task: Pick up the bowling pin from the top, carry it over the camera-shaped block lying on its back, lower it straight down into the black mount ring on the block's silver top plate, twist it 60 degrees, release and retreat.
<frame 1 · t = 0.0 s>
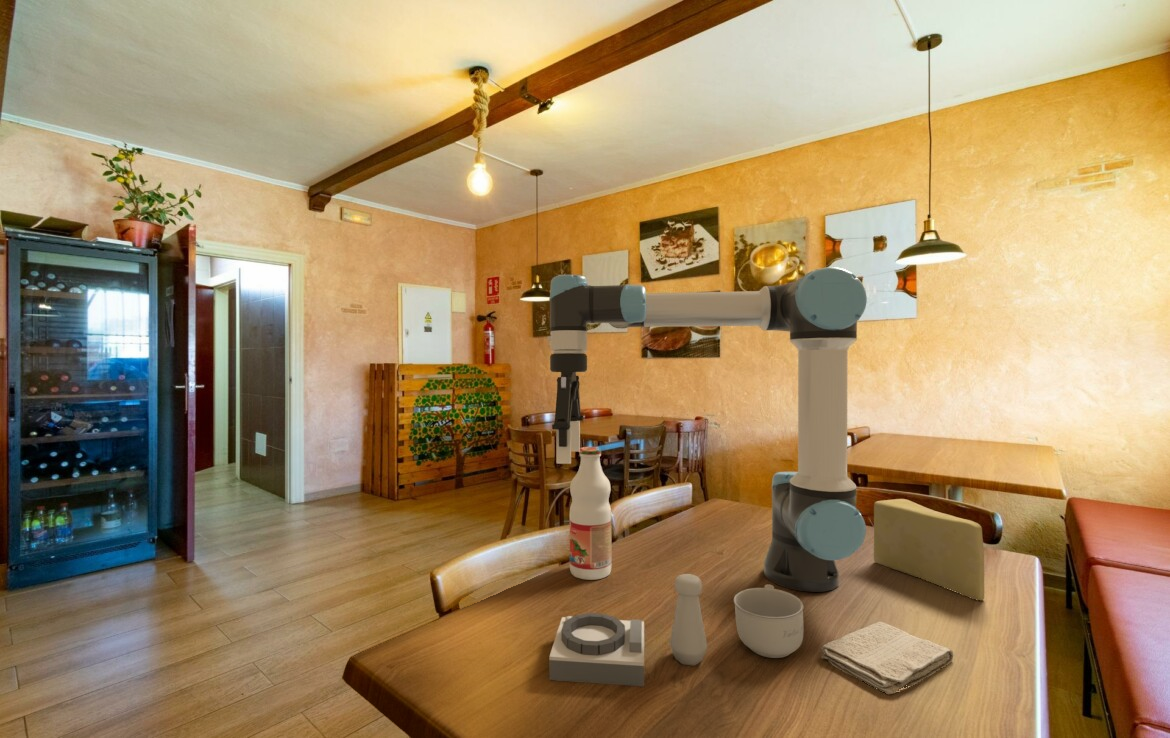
hand: (568, 457, 105), 28 cm above the table, tool pointing down, fingers open, 13 cm apart
washcloth: (885, 664, 82), on the table
cheese: (930, 580, 112), on the table
bowling pin: (688, 659, 82), on the table
teacup: (769, 644, 87), on the table
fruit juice: (590, 573, 116), on the table
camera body: (599, 659, 82), on the table
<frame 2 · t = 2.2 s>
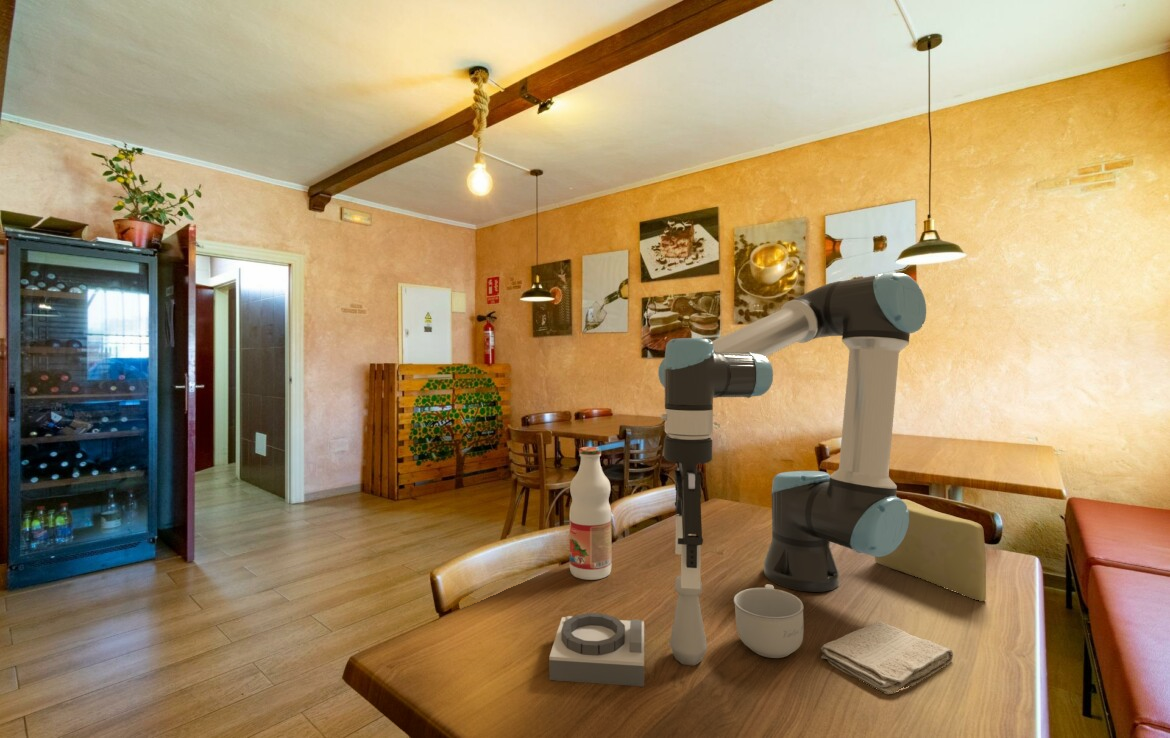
hand: (686, 569, 82), 14 cm above the table, tool pointing down, fingers open, 13 cm apart
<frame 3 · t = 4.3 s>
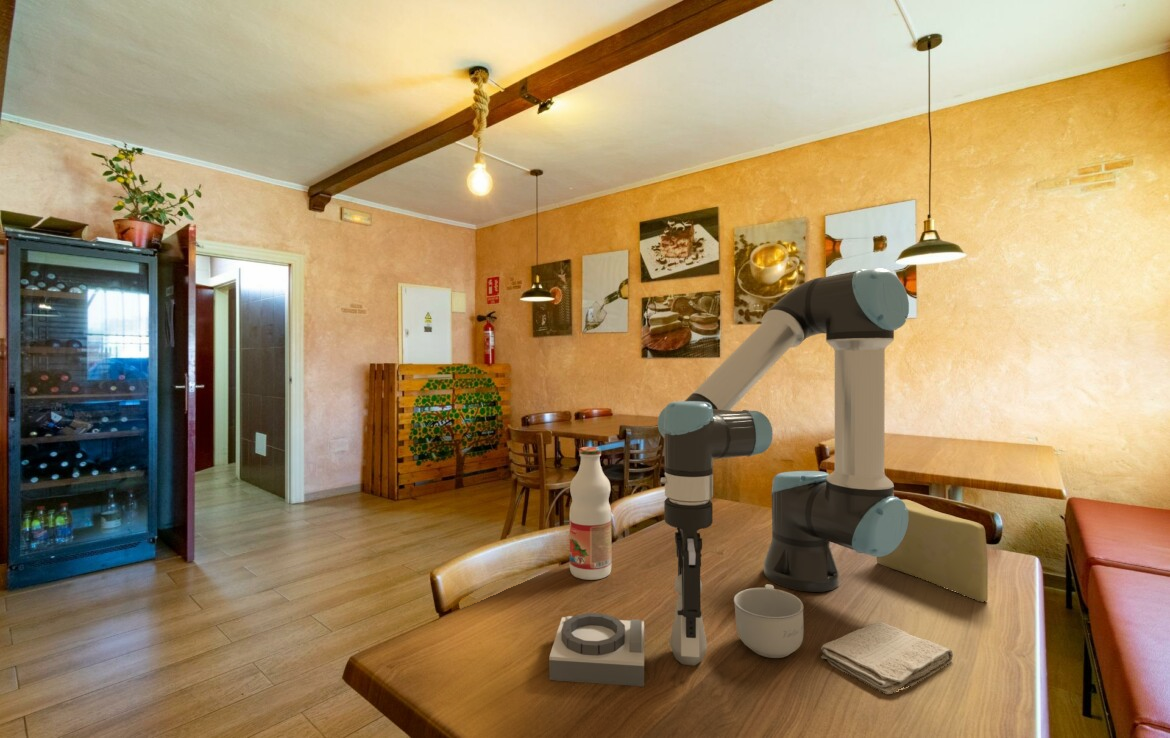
hand: (688, 643, 82), 2 cm above the table, tool pointing down, fingers closed on bowling pin, 6 cm apart
bowling pin: (688, 659, 82), on the table, touching gripper
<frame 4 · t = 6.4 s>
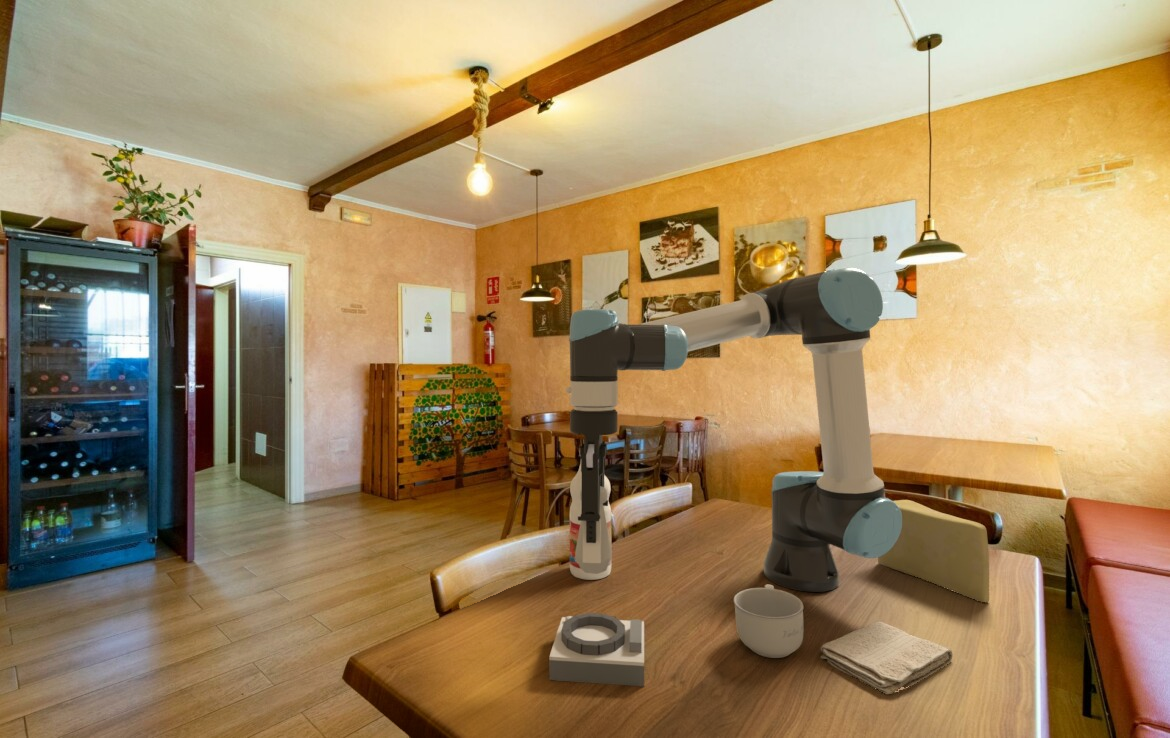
hand: (593, 553, 82), 17 cm above the table, tool pointing down, fingers closed on bowling pin, 6 cm apart
bowling pin: (593, 569, 82), point 14 cm above the table, touching gripper
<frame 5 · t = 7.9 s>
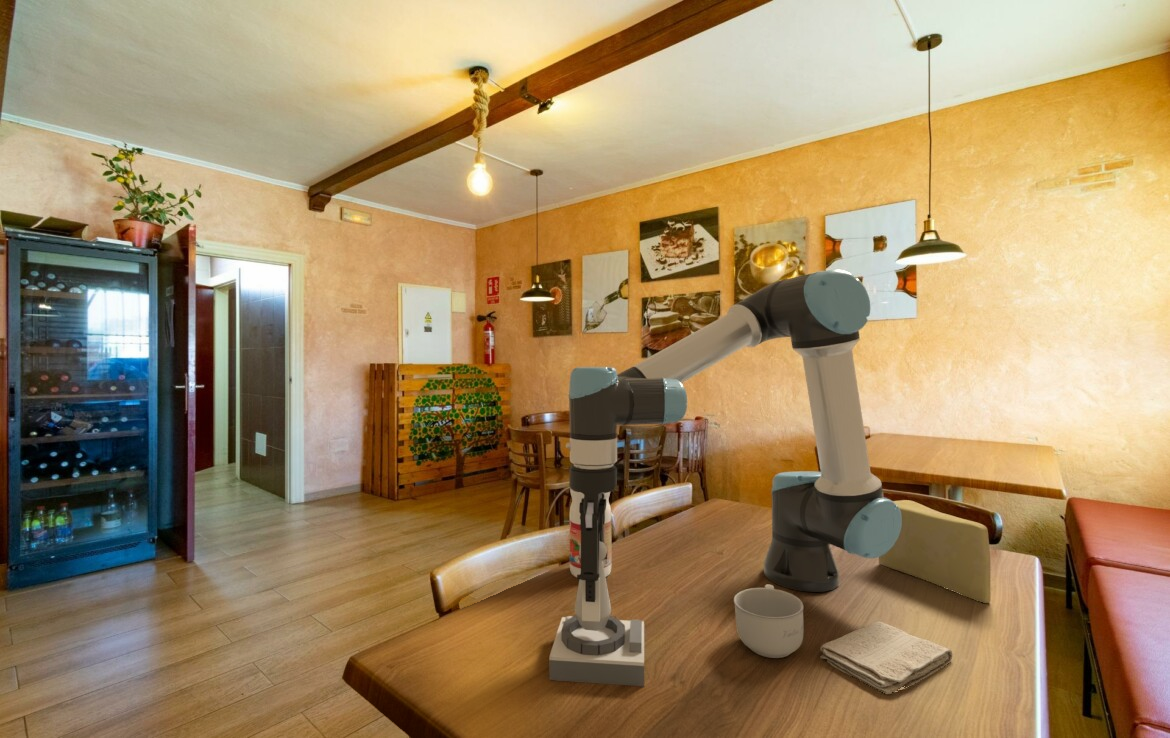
hand: (593, 609, 82), 8 cm above the table, tool pointing down, fingers closed on bowling pin, 6 cm apart
bowling pin: (592, 625, 82), point 5 cm above the table, touching gripper
when the fingers open (7 cm above the table, at t = 8.9 s): bowling pin stays where it is, resting on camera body.
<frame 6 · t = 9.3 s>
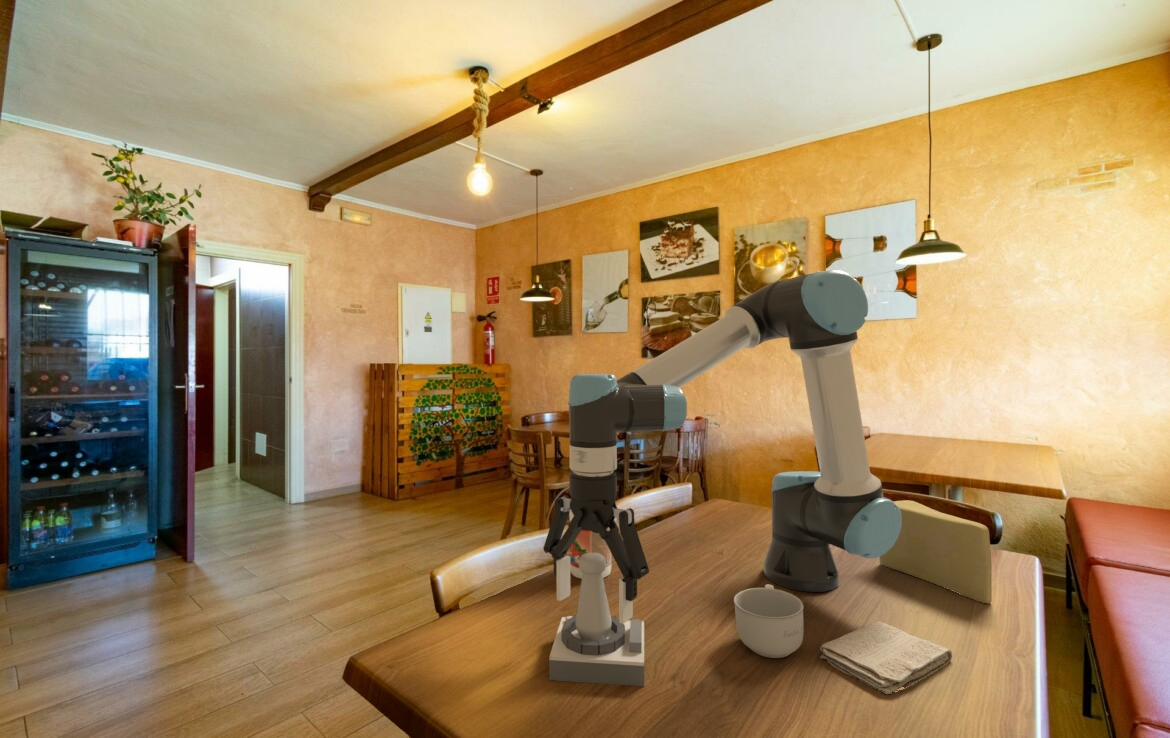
hand: (593, 608, 82), 8 cm above the table, tool pointing down, fingers open, 11 cm apart
bowling pin: (593, 638, 82), point 3 cm above the table, touching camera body
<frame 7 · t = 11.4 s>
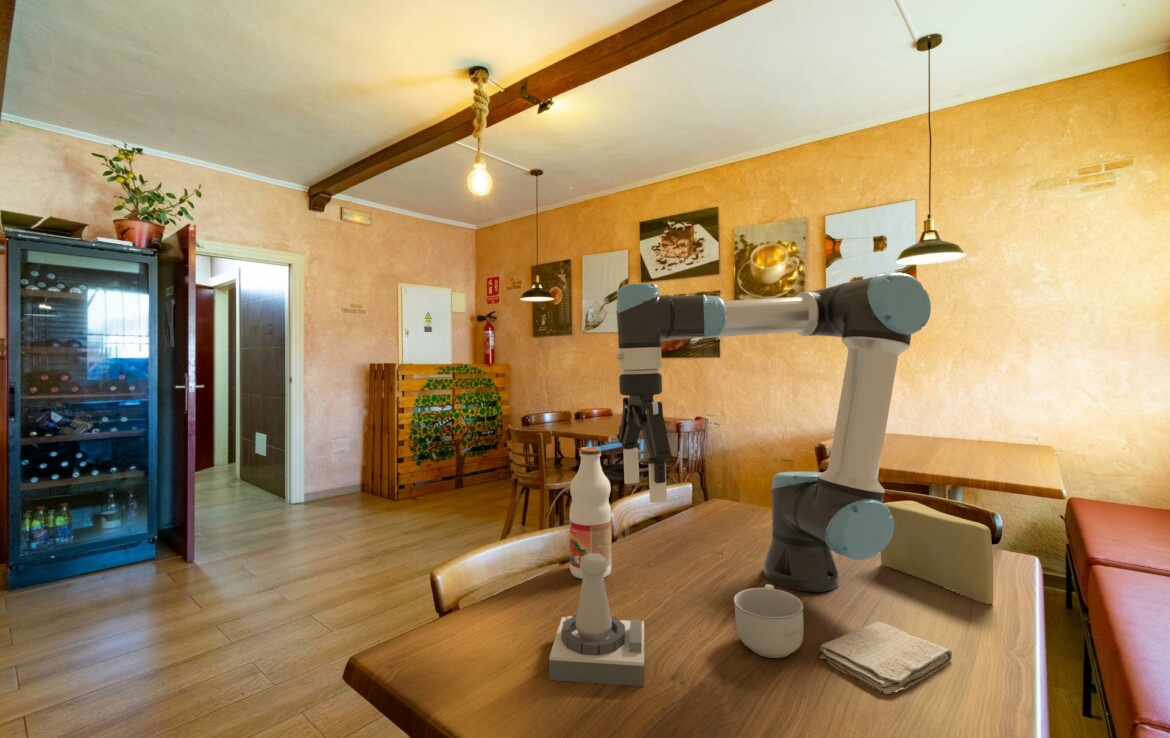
hand: (644, 491, 92), 24 cm above the table, tool pointing down, fingers open, 13 cm apart
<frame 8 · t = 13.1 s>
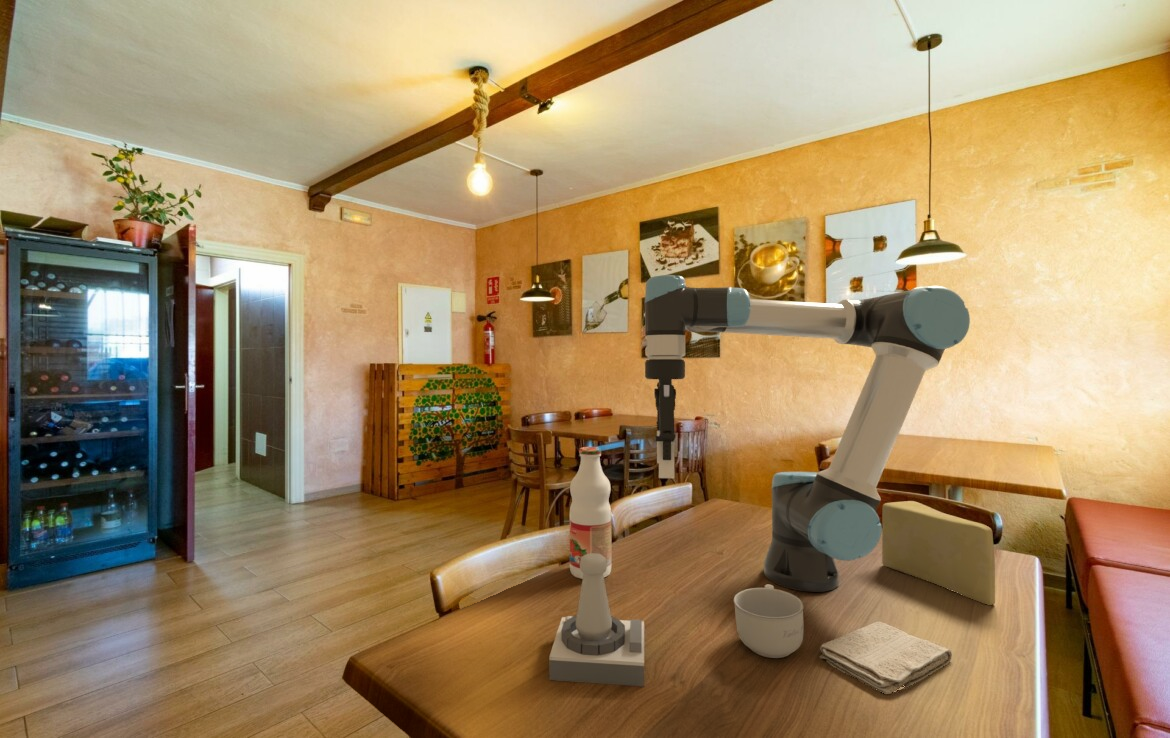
hand: (665, 470, 98), 27 cm above the table, tool pointing down, fingers open, 13 cm apart
at the end: bowling pin 0.1 cm from the target spot, point 3.3 cm above the table; bowling pin tilted 0°; bowling pin touching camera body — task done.
